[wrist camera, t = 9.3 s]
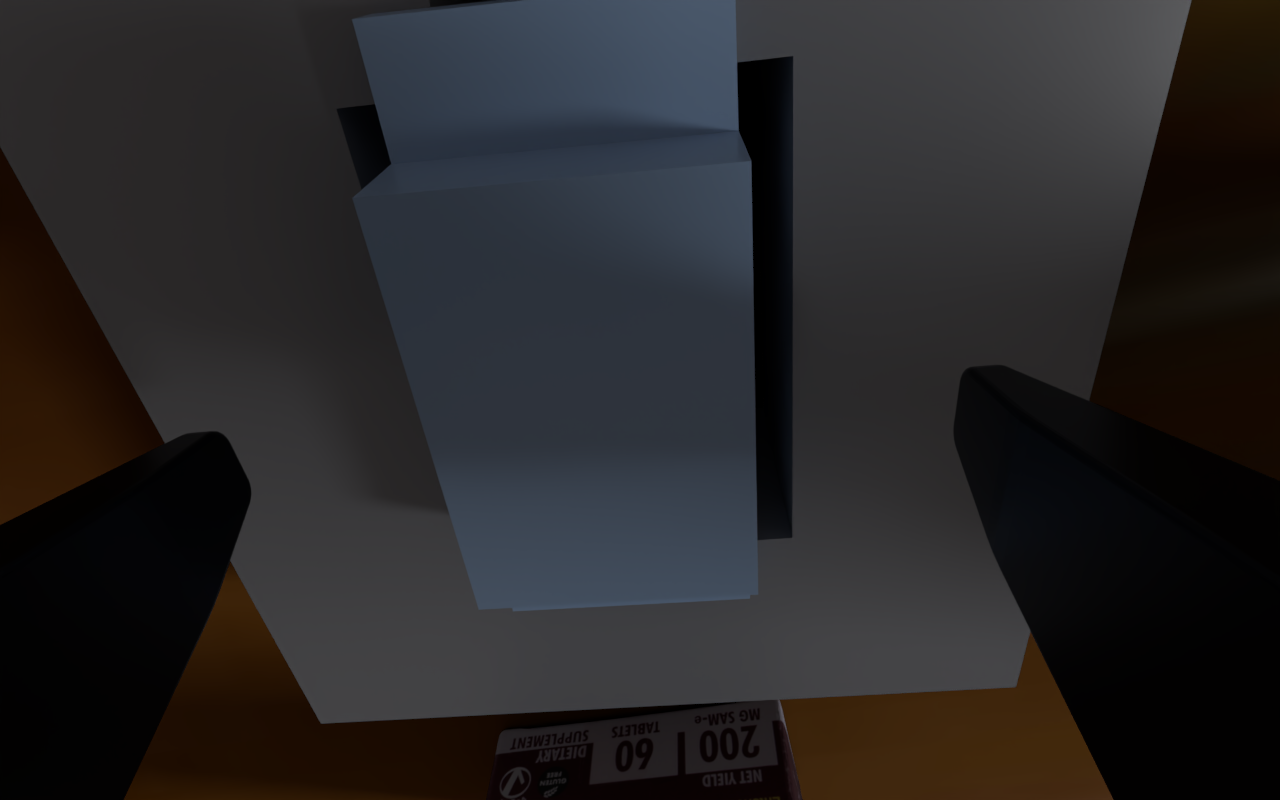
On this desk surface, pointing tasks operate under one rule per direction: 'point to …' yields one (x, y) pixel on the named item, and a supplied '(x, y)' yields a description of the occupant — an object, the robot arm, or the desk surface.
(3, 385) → the desk surface
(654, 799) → the supplement box
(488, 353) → the block
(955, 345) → the chassis
